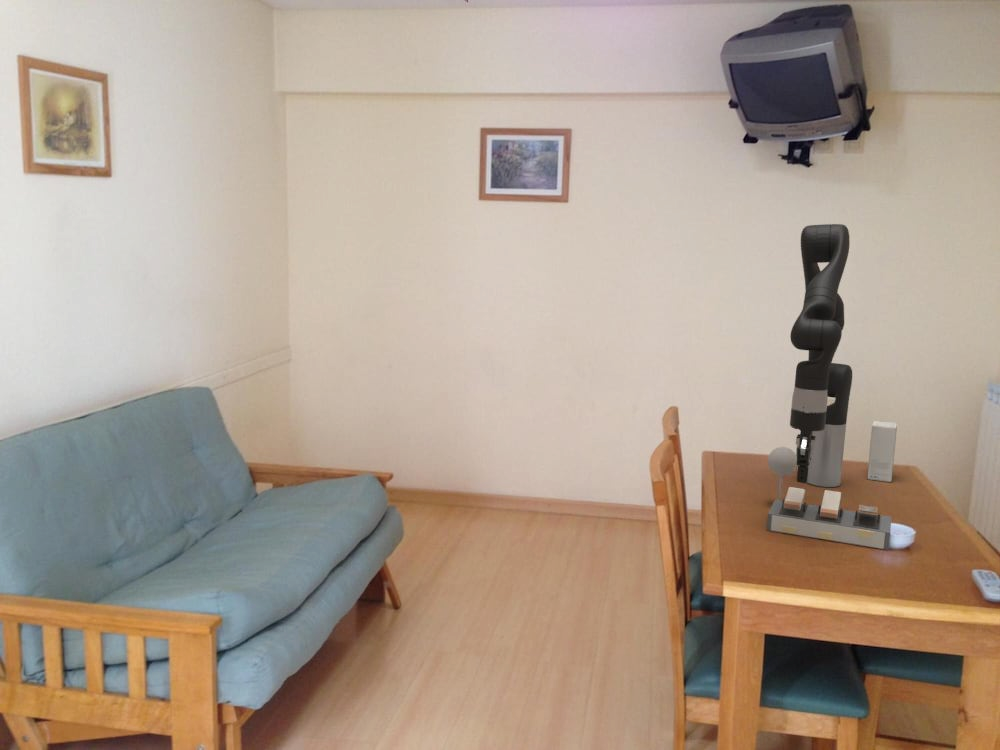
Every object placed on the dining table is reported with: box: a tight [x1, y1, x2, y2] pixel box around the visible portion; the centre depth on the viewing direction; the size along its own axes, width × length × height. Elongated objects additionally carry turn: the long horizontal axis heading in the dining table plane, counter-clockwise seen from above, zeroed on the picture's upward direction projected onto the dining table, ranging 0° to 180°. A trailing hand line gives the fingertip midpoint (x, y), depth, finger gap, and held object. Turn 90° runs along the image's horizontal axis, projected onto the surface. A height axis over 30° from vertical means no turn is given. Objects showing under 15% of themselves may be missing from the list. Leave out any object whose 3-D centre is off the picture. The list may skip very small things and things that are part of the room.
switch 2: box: [820, 489, 842, 519], centre depth 208 cm, size 9×4×1 cm, turn 155°
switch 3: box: [858, 504, 878, 515], centre depth 205 cm, size 9×4×1 cm, turn 156°
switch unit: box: [766, 498, 892, 551], centre depth 208 cm, size 12×26×6 cm, turn 66°
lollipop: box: [767, 446, 798, 501], centre depth 226 cm, size 7×7×15 cm
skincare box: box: [867, 420, 898, 483], centre depth 254 cm, size 8×7×16 cm
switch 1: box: [784, 486, 806, 510], centre depth 211 cm, size 9×4×1 cm, turn 155°
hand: (801, 481), depth 207 cm, fingers closed
